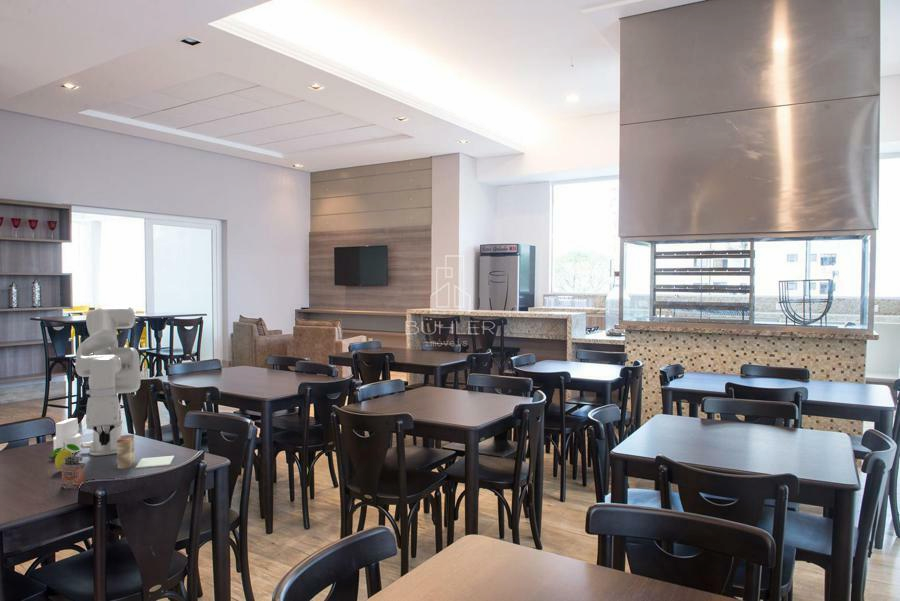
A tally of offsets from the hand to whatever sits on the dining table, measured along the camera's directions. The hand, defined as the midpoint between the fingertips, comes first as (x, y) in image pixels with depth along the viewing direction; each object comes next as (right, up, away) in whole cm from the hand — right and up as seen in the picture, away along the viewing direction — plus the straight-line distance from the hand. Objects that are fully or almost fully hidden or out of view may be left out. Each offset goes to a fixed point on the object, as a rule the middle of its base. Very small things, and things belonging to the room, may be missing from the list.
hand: (104, 444), depth 211 cm
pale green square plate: (+15, -8, +5) cm, 18 cm away
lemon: (-12, -9, -3) cm, 15 cm away
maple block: (+6, -8, +2) cm, 11 cm away
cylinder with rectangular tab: (-26, -8, +21) cm, 34 cm away
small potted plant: (+2, -9, -20) cm, 22 cm away
